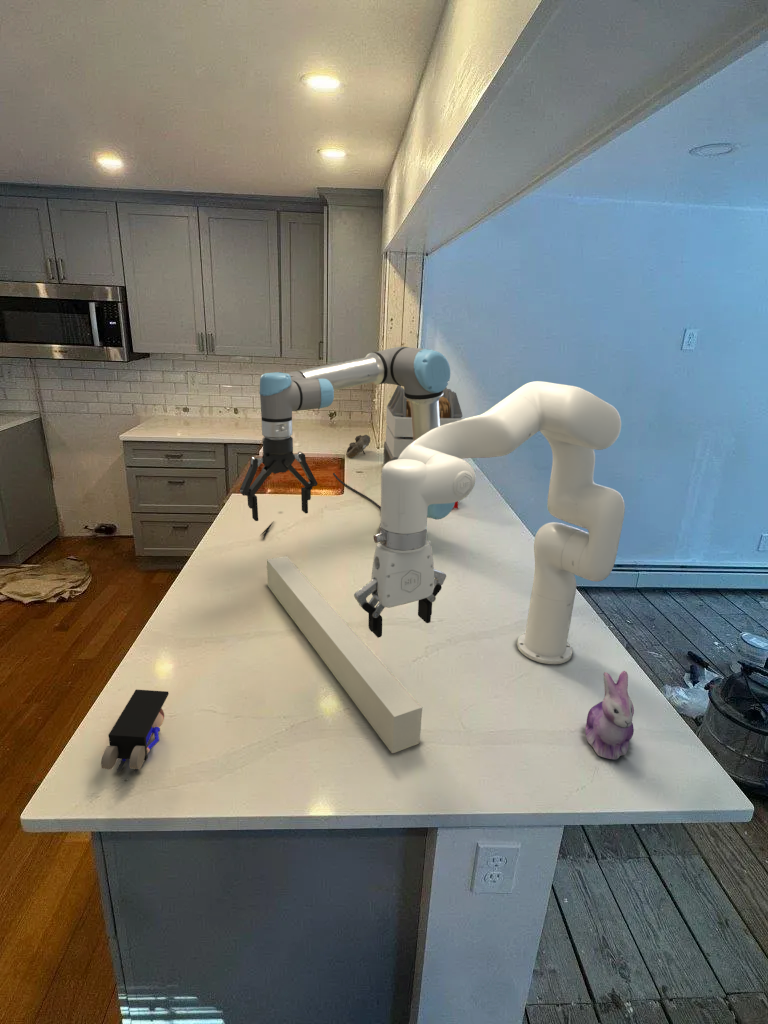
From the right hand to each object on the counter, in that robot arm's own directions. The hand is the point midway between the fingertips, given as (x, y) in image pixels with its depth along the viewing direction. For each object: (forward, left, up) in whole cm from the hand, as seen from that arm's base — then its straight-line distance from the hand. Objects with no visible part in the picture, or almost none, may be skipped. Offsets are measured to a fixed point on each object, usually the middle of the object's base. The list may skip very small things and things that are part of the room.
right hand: (400, 626), depth 98 cm
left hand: (-31, -54, -1) cm, 63 cm away
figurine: (-20, +35, -23) cm, 46 cm away
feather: (-66, -89, -23) cm, 113 cm away
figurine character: (+29, -35, -23) cm, 51 cm away
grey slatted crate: (-161, -80, -23) cm, 181 cm away
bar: (-15, -27, -23) cm, 39 cm away
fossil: (-173, -124, -23) cm, 214 cm away
